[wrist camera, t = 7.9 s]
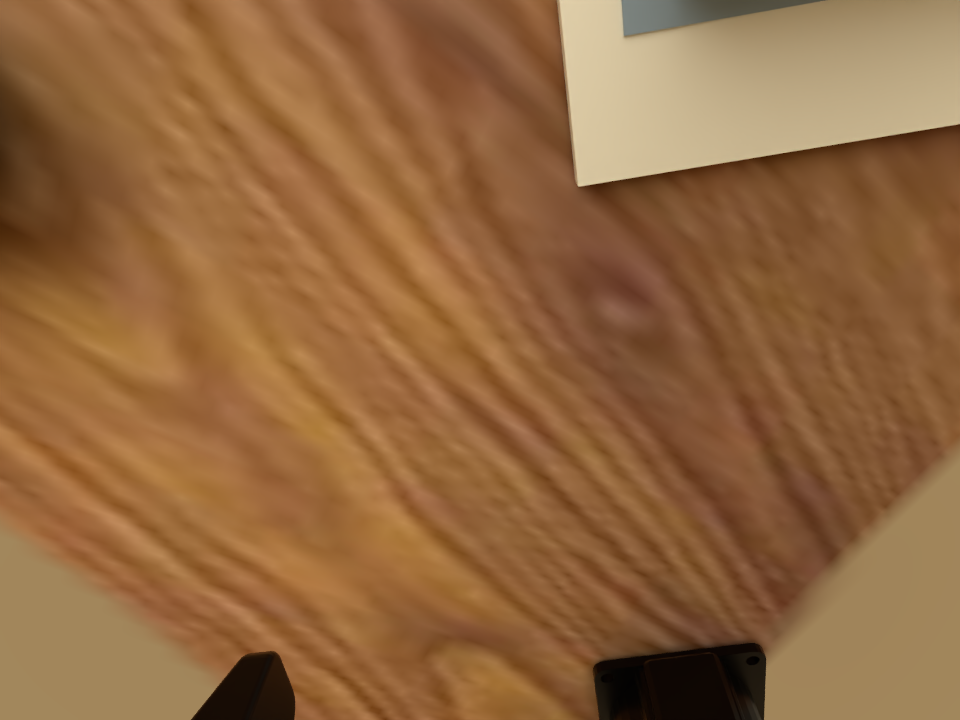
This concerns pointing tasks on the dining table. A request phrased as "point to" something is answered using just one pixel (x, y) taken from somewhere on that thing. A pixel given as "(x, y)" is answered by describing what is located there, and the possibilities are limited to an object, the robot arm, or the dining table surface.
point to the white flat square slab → (749, 78)
